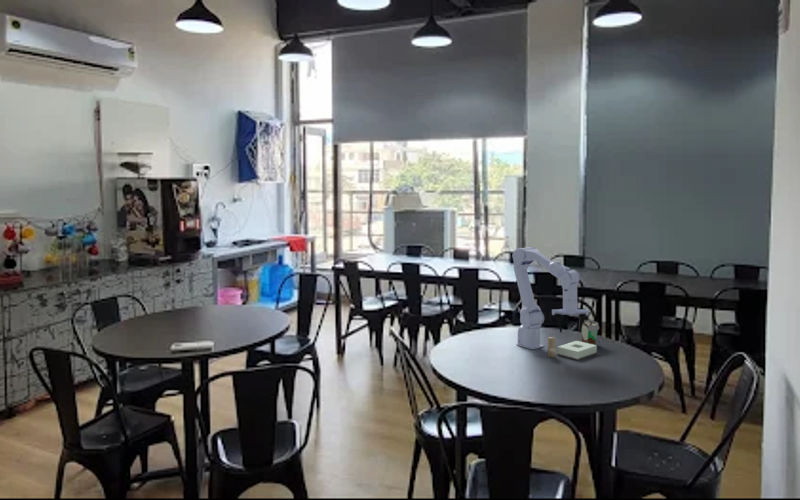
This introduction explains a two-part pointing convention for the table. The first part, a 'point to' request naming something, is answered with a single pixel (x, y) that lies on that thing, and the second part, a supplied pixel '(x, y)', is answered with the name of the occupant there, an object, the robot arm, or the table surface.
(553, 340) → the peg
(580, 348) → the socket block
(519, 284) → the robot arm
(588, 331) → the food container
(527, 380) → the table surface
